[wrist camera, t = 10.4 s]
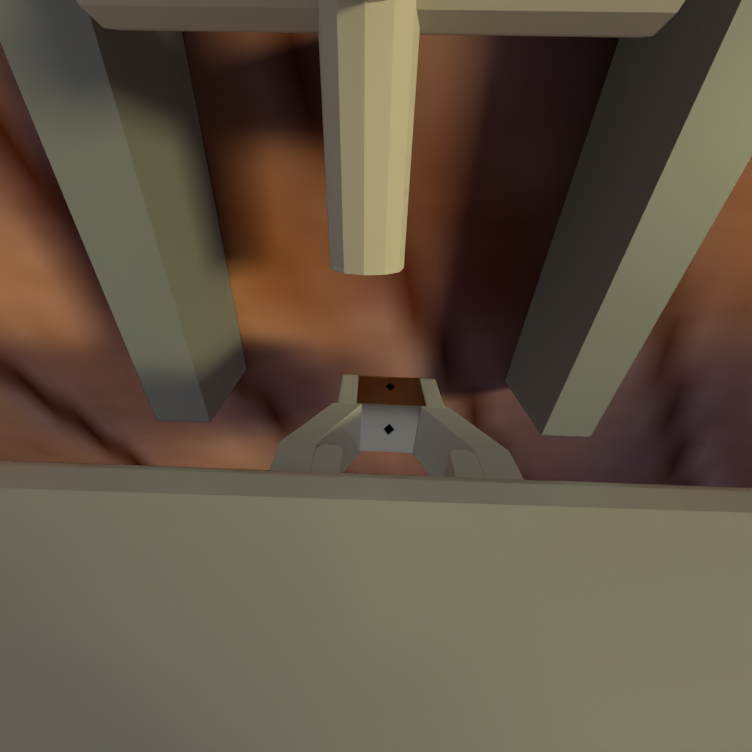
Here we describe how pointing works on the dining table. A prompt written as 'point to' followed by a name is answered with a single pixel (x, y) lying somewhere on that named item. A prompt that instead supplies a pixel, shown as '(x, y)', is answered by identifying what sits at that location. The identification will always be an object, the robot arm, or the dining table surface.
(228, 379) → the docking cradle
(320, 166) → the dining table surface
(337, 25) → the pipe connector
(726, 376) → the dining table surface
